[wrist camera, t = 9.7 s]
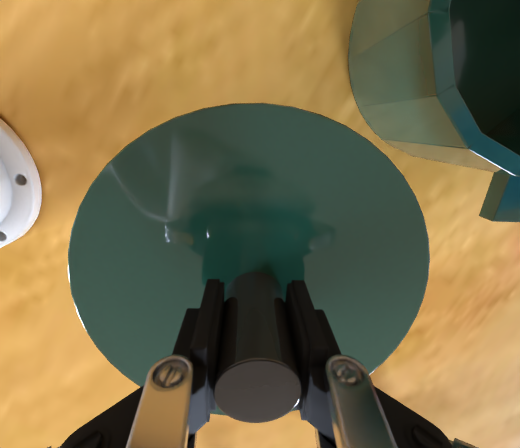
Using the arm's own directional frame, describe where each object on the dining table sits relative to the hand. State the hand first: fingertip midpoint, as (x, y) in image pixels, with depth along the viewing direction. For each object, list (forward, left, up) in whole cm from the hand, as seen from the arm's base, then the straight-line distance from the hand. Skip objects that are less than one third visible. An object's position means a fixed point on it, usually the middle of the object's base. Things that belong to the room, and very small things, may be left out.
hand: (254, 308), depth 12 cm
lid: (0, 0, -2) cm, 2 cm away
